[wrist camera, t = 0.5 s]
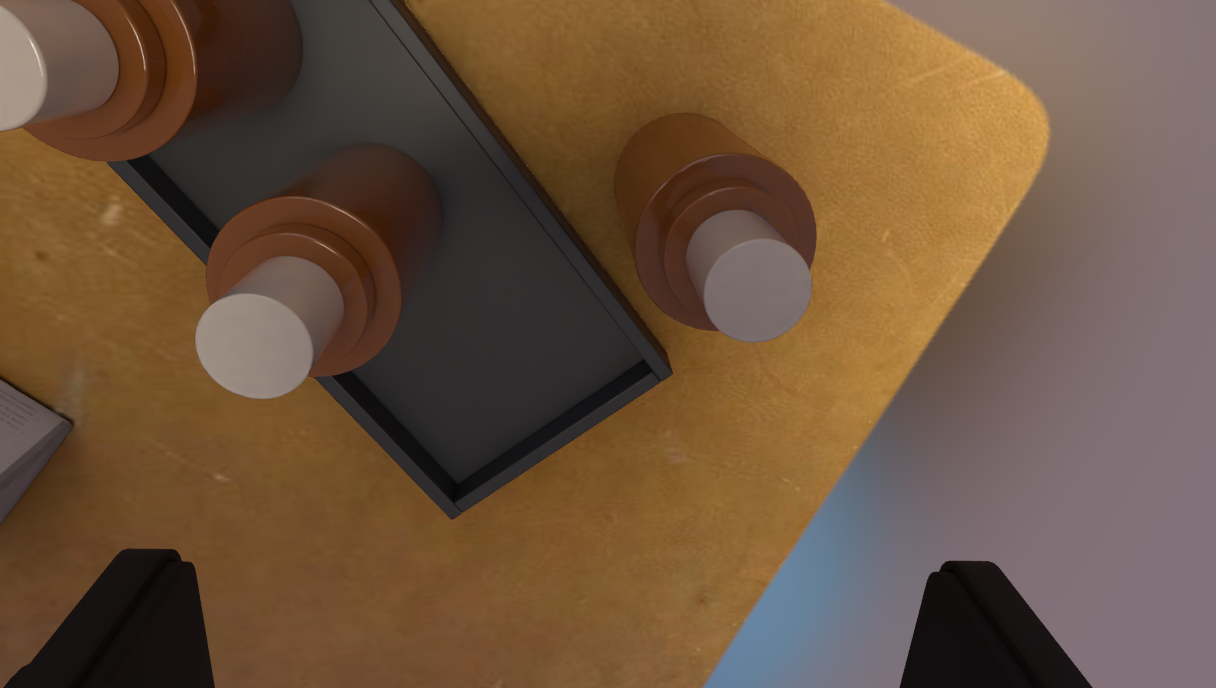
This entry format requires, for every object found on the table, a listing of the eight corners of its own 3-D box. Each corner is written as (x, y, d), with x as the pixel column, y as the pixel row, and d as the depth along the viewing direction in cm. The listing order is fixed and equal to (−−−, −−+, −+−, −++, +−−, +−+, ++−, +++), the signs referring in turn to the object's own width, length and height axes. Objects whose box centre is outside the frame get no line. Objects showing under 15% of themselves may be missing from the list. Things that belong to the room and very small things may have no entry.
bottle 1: (224, -81, 27) (-50, -151, 15) (335, 57, 28) (171, 96, 16) (111, 19, 27) (-234, 30, 16) (225, 146, 29) (-5, 245, 17)
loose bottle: (701, 83, 30) (797, 136, 18) (773, 197, 32) (904, 313, 20) (586, 167, 31) (604, 270, 19) (662, 273, 33) (724, 428, 21)
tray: (265, -183, 26) (241, -198, 24) (667, 353, 34) (673, 374, 32) (24, 35, 28) (-16, 37, 26) (457, 492, 36) (451, 520, 34)
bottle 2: (379, 113, 29) (255, 188, 17) (472, 228, 31) (418, 369, 19) (271, 198, 30) (81, 326, 18) (367, 305, 32) (253, 486, 20)
